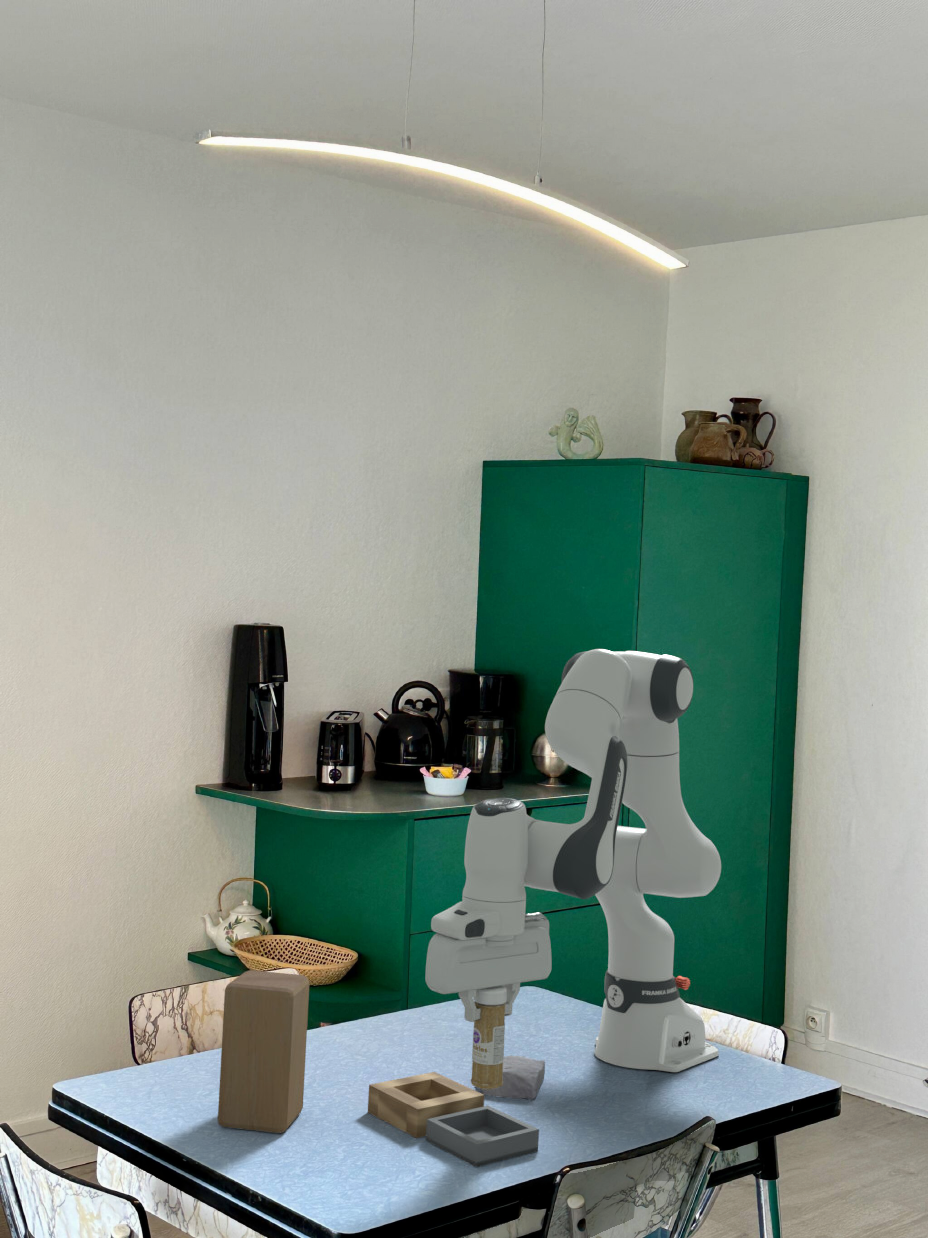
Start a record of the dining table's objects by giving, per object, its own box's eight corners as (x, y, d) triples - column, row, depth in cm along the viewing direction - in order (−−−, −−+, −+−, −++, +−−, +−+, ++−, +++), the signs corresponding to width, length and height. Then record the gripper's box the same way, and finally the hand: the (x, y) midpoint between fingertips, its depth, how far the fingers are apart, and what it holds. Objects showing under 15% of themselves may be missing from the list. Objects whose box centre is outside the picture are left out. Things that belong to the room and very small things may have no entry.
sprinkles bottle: (463, 1084, 186) (467, 986, 186) (486, 1077, 189) (489, 981, 189) (488, 1092, 183) (491, 993, 183) (510, 1085, 186) (513, 987, 186)
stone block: (476, 1107, 207) (540, 1101, 205) (472, 1076, 208) (535, 1069, 206) (488, 1086, 219) (549, 1080, 217) (484, 1056, 219) (544, 1050, 218)
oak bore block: (432, 1098, 204) (434, 1072, 204) (483, 1122, 195) (484, 1095, 195) (367, 1112, 197) (369, 1084, 197) (416, 1138, 187) (418, 1109, 188)
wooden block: (238, 1105, 197) (245, 968, 198) (304, 1112, 196) (311, 974, 196) (214, 1129, 187) (222, 984, 188) (284, 1136, 186) (292, 991, 186)
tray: (486, 1126, 193) (488, 1105, 194) (538, 1151, 185) (539, 1129, 185) (425, 1141, 187) (426, 1119, 187) (475, 1167, 178) (477, 1144, 178)
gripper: (534, 907, 195) (529, 1003, 195) (421, 919, 183) (416, 1022, 182) (563, 915, 190) (559, 1013, 190) (450, 928, 178) (444, 1033, 177)
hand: (488, 1018), depth 186 cm, fingers closed on sprinkles bottle, 4 cm apart
